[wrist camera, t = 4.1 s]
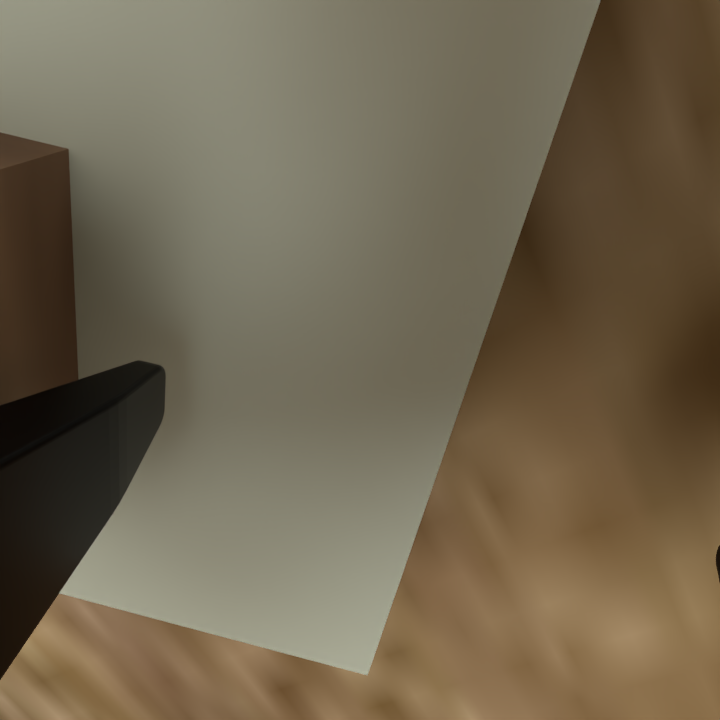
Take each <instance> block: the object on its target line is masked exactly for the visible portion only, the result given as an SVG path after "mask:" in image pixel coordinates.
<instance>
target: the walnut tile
mask: <svg viewBox="0 0 720 720" xmlns="http://www.w3.org/2000/svg"><path fill="white" fill-rule="evenodd" d="M76 380H79V379H78V356H77V333H76V310H75V286H74V263H73V240H72V217H71V194H70V170H69V149H67V148H63V147H59V146H55V145H51V144H47V143H42V142H38V141H34V140H30V139H26V138H22V137H18V136H14V135H9V134H5V133H1V132H0V405H2V404H5V403H9V402H12V401H15V400H18V399H21V398H24V397H27V396H30V395H33V394H36V393H39V392H42V391H45V390H48V389H51V388H54V387H57V386H60V385H63V384H66V383H69V382H73V381H76Z"/></svg>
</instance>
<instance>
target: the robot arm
mask: <svg viewBox="0 0 720 720" xmlns="http://www.w3.org/2000/svg"><path fill="white" fill-rule="evenodd" d="M165 386H166V373H165V369H164V368H163V367H162V366H161V365H157V364H153V363H149V362H145V361H141V360H137V361H133V362H130V363H127V364H124V365H121V366H118V367H115V368H112V369H109V370H106V371H103V372H100V373H97V374H94V375H91V376H88V377H85V378H82V379H79V380H76V381H73V382H69V383H66V384H63V385H60V386H57V387H54V388H51V389H48V390H45V391H42V392H39V393H36V394H33V395H30V396H27V397H24V398H21V399H18V400H15V401H12V402H9V403H5V404H2V405H0V680H1V678H2V677H3V675H4V674H5V672H6V671H7V669H8V668H9V666H10V665H11V663H12V662H13V660H14V659H15V657H16V656H17V654H18V653H19V652H20V650H21V649H22V647H23V646H24V644H25V643H26V641H27V640H28V638H29V637H30V635H31V634H32V632H33V631H34V629H35V628H36V626H37V625H38V624H39V622H40V621H41V619H42V618H43V616H44V615H45V613H46V612H47V610H48V609H49V607H50V606H51V604H52V603H53V601H54V600H55V598H56V597H57V596H58V594H59V593H60V591H61V590H62V588H63V587H64V585H65V584H66V582H67V581H68V579H69V578H70V576H71V575H72V573H73V572H74V570H75V569H76V567H77V566H78V565H79V563H80V562H81V560H82V559H83V557H84V556H85V554H86V553H87V551H88V550H89V548H90V547H91V545H92V544H93V542H94V541H95V539H96V538H97V537H98V535H99V534H100V532H101V531H102V529H103V528H104V526H105V525H106V523H107V522H108V520H109V519H110V517H111V516H112V514H113V513H114V511H115V510H116V508H117V506H118V505H119V503H120V502H121V500H122V498H123V496H124V494H125V493H126V491H127V489H128V487H129V485H130V483H131V481H132V479H133V477H134V475H135V473H136V471H137V469H138V468H139V466H140V464H141V462H142V460H143V458H144V456H145V454H146V452H147V450H148V448H149V446H150V444H151V442H152V440H153V439H154V437H155V435H156V433H157V431H158V429H159V427H160V425H161V423H162V420H163V416H164V411H165ZM716 566H717V571H718V576H719V581H720V545H719V547H718V550H717V554H716Z"/></svg>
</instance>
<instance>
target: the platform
mask: <svg viewBox="0 0 720 720" xmlns="http://www.w3.org/2000/svg"><path fill="white" fill-rule="evenodd" d="M600 1H601V0H0V132H1V133H5V134H9V135H14V136H18V137H22V138H26V139H30V140H34V141H38V142H42V143H47V144H51V145H55V146H59V147H63V148H67V149H69V170H70V194H71V217H72V240H73V263H74V286H75V310H76V333H77V356H78V379H82V378H85V377H88V376H91V375H94V374H97V373H100V372H103V371H106V370H109V369H112V368H115V367H118V366H121V365H124V364H127V363H130V362H133V361H137V360H141V361H145V362H149V363H153V364H157V365H161V366H162V367H163V368H164V369H165V373H166V386H165V411H164V416H163V420H162V423H161V425H160V427H159V429H158V431H157V433H156V435H155V437H154V439H153V440H152V442H151V444H150V446H149V448H148V450H147V452H146V454H145V456H144V458H143V460H142V462H141V464H140V466H139V468H138V469H137V471H136V473H135V475H134V477H133V479H132V481H131V483H130V485H129V487H128V489H127V491H126V493H125V494H124V496H123V498H122V500H121V502H120V503H119V505H118V506H117V508H116V510H115V511H114V513H113V514H112V516H111V517H110V519H109V520H108V522H107V523H106V525H105V526H104V528H103V529H102V531H101V532H100V534H99V535H98V537H97V538H96V539H95V541H94V542H93V544H92V545H91V547H90V548H89V550H88V551H87V553H86V554H85V556H84V557H83V559H82V560H81V562H80V563H79V565H78V566H77V567H76V569H75V570H74V572H73V573H72V575H71V576H70V578H69V579H68V581H67V582H66V584H65V585H64V587H63V588H62V590H61V591H60V594H64V595H67V596H71V597H75V598H79V599H83V600H86V601H90V602H94V603H98V604H101V605H105V606H109V607H113V608H116V609H120V610H124V611H128V612H131V613H135V614H139V615H143V616H146V617H150V618H154V619H158V620H161V621H165V622H169V623H173V624H176V625H180V626H184V627H188V628H191V629H195V630H199V631H203V632H206V633H210V634H214V635H218V636H222V637H225V638H229V639H233V640H237V641H240V642H244V643H248V644H252V645H255V646H259V647H263V648H267V649H270V650H274V651H278V652H282V653H285V654H289V655H293V656H297V657H300V658H304V659H308V660H312V661H315V662H319V663H323V664H327V665H330V666H334V667H338V668H342V669H345V670H349V671H353V672H357V673H361V674H364V675H368V672H369V669H370V667H371V664H372V661H373V658H374V655H375V652H376V649H377V646H378V643H379V640H380V638H381V635H382V632H383V629H384V626H385V623H386V620H387V617H388V614H389V612H390V609H391V606H392V603H393V600H394V597H395V594H396V591H397V588H398V585H399V583H400V580H401V577H402V574H403V571H404V568H405V565H406V562H407V559H408V557H409V554H410V551H411V548H412V545H413V542H414V539H415V536H416V533H417V530H418V528H419V525H420V522H421V519H422V516H423V513H424V510H425V507H426V504H427V502H428V499H429V496H430V493H431V490H432V487H433V484H434V481H435V478H436V475H437V473H438V470H439V467H440V464H441V461H442V458H443V455H444V452H445V449H446V447H447V444H448V441H449V438H450V435H451V432H452V429H453V426H454V423H455V420H456V418H457V415H458V412H459V409H460V406H461V403H462V400H463V397H464V394H465V392H466V389H467V386H468V383H469V380H470V377H471V374H472V371H473V368H474V366H475V363H476V360H477V357H478V354H479V351H480V348H481V345H482V342H483V339H484V337H485V334H486V331H487V328H488V325H489V322H490V319H491V316H492V313H493V311H494V308H495V305H496V302H497V299H498V296H499V293H500V290H501V287H502V284H503V282H504V279H505V276H506V273H507V270H508V267H509V264H510V261H511V258H512V256H513V253H514V250H515V247H516V244H517V241H518V238H519V235H520V232H521V229H522V227H523V224H524V221H525V218H526V215H527V212H528V209H529V206H530V203H531V201H532V198H533V195H534V192H535V189H536V186H537V183H538V180H539V177H540V174H541V172H542V169H543V166H544V163H545V160H546V157H547V154H548V151H549V148H550V146H551V143H552V140H553V137H554V134H555V131H556V128H557V125H558V122H559V119H560V117H561V114H562V111H563V108H564V105H565V102H566V99H567V96H568V93H569V91H570V88H571V85H572V82H573V79H574V76H575V73H576V70H577V67H578V65H579V62H580V59H581V56H582V53H583V50H584V47H585V44H586V41H587V38H588V36H589V33H590V30H591V27H592V24H593V21H594V18H595V15H596V12H597V10H598V7H599V4H600Z"/></svg>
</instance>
